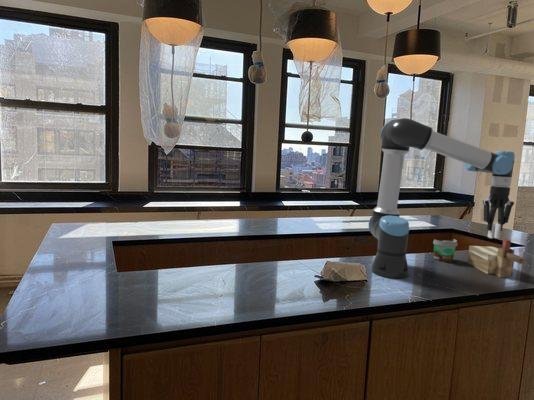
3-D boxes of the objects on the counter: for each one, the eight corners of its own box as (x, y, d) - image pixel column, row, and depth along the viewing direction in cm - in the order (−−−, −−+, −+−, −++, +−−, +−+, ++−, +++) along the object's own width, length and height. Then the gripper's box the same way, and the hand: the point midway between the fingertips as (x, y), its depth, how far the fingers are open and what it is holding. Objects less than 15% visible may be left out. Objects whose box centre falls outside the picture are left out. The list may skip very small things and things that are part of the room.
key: (519, 263, 156) (521, 246, 155) (500, 255, 168) (502, 239, 167) (524, 263, 156) (527, 246, 155) (505, 255, 168) (508, 239, 167)
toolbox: (492, 276, 166) (496, 249, 164) (467, 262, 186) (470, 238, 184) (517, 277, 167) (521, 250, 165) (490, 263, 186) (493, 239, 184)
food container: (439, 263, 183) (442, 242, 181) (430, 259, 188) (433, 239, 187) (461, 262, 186) (464, 242, 184) (452, 258, 192) (454, 238, 190)
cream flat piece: (487, 262, 169) (488, 254, 169) (468, 252, 184) (469, 245, 184) (514, 263, 170) (515, 256, 169) (493, 253, 185) (494, 246, 184)
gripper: (488, 186, 168) (481, 239, 172) (523, 187, 169) (515, 240, 172) (478, 184, 176) (472, 235, 179) (511, 186, 176) (504, 236, 180)
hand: (493, 237), depth 176 cm, fingers open, 2 cm apart
